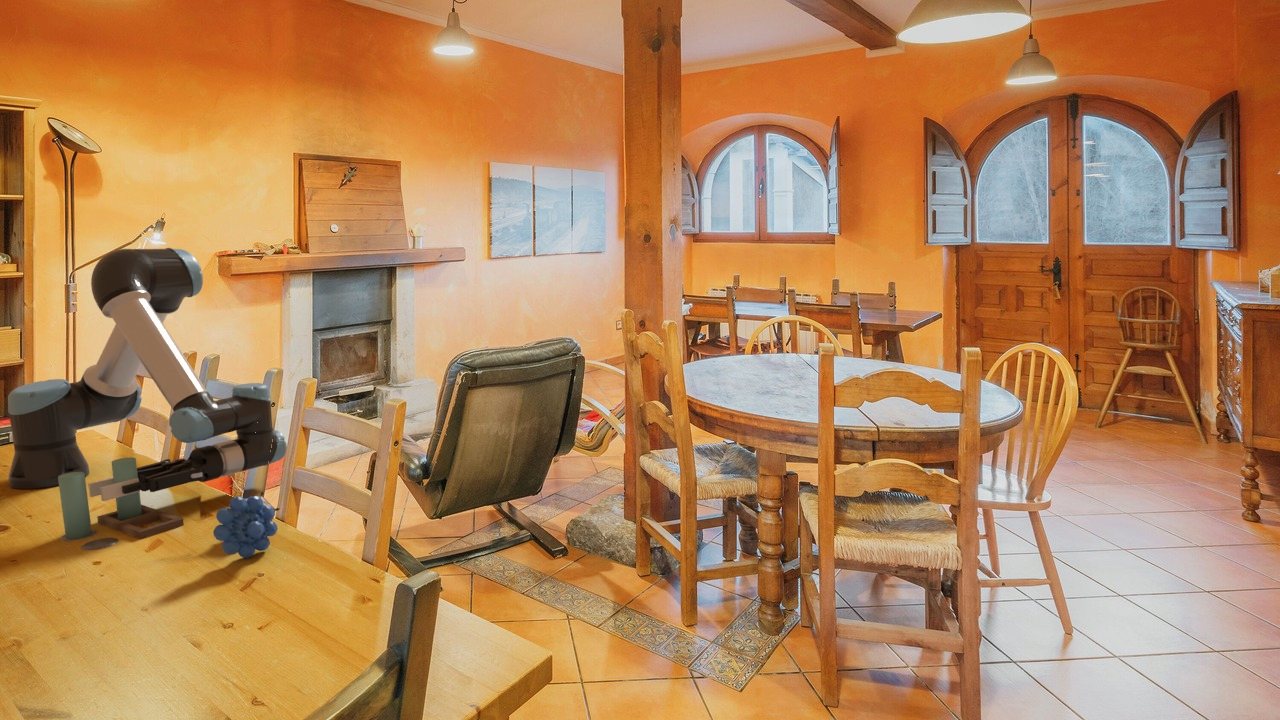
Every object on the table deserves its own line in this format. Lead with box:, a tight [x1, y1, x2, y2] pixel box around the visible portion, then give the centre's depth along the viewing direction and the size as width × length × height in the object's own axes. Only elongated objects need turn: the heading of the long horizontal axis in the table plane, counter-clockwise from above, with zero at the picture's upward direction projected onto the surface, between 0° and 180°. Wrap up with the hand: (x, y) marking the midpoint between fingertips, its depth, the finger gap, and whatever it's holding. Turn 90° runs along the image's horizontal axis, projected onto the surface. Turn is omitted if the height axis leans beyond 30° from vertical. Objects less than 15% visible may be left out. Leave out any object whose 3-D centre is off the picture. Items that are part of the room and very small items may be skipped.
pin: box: [58, 472, 93, 539], centre depth 140 cm, size 4×4×12 cm
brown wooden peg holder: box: [96, 504, 185, 540], centre depth 147 cm, size 16×8×2 cm, turn 60°
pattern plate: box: [60, 529, 119, 551], centre depth 140 cm, size 16×8×1 cm, turn 60°
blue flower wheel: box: [213, 495, 278, 559], centre depth 133 cm, size 12×7×12 cm, turn 150°
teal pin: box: [111, 457, 142, 521], centre depth 148 cm, size 4×4×12 cm
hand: (96, 492), depth 143 cm, fingers closed on teal pin, 4 cm apart
